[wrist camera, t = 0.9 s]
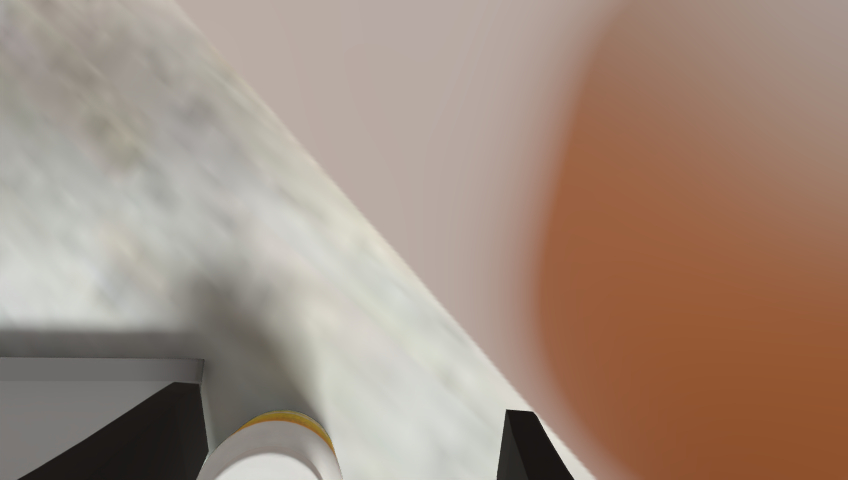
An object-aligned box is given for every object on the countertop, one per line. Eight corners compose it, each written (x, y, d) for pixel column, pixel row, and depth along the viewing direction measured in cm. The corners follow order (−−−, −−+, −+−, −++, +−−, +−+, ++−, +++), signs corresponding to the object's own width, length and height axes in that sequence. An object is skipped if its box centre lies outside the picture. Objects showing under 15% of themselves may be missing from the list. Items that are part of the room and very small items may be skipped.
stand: (178, 589, 22) (168, 605, 21) (-119, 613, 20) (-154, 633, 18) (204, 359, 25) (197, 358, 23) (-58, 356, 22) (-84, 356, 21)
